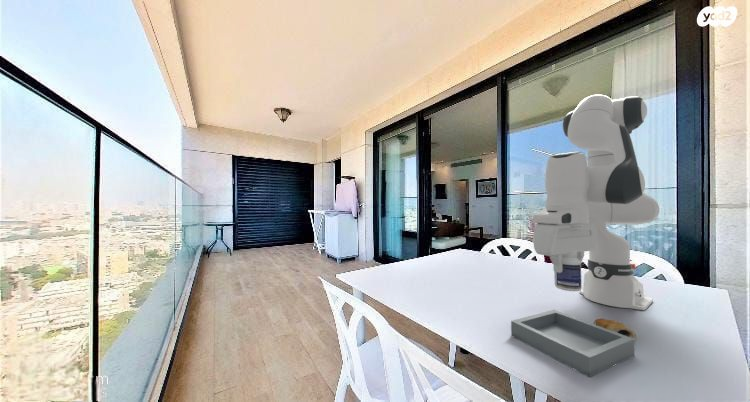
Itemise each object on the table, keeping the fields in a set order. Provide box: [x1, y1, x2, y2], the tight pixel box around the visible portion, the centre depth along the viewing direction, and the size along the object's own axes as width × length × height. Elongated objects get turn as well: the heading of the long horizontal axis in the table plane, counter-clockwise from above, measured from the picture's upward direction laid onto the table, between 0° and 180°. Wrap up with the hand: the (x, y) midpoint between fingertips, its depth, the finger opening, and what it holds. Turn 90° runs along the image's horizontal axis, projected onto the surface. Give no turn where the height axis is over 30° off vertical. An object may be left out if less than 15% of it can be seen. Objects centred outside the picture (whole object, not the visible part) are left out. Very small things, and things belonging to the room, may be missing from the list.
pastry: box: [594, 318, 637, 341], centre depth 70 cm, size 9×7×4 cm
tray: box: [510, 309, 635, 378], centre depth 64 cm, size 18×18×4 cm
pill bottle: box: [553, 251, 582, 292], centre depth 64 cm, size 5×5×10 cm
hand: (567, 270), depth 64 cm, fingers closed on pill bottle, 5 cm apart
